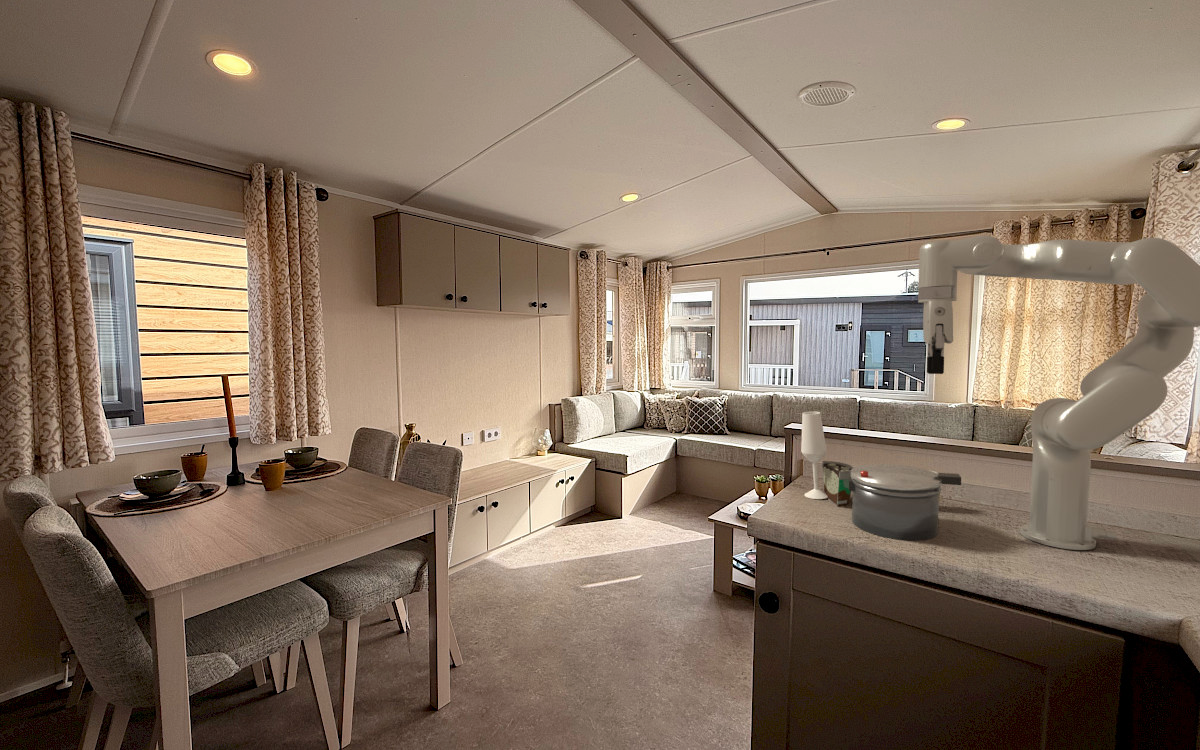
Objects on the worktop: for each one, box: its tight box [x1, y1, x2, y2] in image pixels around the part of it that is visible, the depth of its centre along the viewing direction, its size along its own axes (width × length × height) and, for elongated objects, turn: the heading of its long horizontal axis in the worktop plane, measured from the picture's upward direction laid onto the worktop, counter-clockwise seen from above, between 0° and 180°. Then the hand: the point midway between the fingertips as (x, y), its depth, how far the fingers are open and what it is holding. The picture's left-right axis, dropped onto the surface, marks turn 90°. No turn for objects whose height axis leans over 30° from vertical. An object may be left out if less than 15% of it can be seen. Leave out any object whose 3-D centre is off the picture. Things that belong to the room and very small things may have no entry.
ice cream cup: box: [821, 460, 854, 508], centre depth 141 cm, size 12×6×10 cm, turn 178°
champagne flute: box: [800, 411, 828, 500], centre depth 145 cm, size 7×7×24 cm
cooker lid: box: [851, 463, 962, 491], centre depth 122 cm, size 22×19×2 cm
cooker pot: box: [849, 477, 942, 542], centre depth 123 cm, size 19×19×11 cm
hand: (935, 373), depth 120 cm, fingers closed
